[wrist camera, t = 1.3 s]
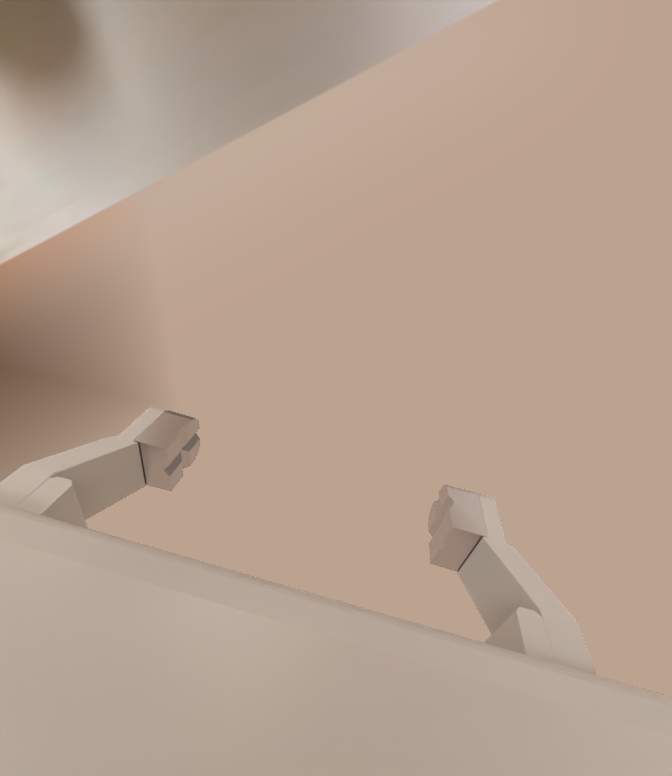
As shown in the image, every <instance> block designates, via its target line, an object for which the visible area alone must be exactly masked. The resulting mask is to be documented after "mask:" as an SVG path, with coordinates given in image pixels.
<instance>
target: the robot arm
mask: <svg viewBox="0 0 672 776" xmlns="http://www.w3.org/2000/svg"><path fill="white" fill-rule="evenodd" d="M198 429H199V421H198V420H197V419H196V418H193V417H189V416H186V415H182V414H179V413H176V412H172V411H169V410H164V409H161V408H158V407H150V408H148V409H147V410H146V411H145V412H144V413H143V414H142V415H141V416H139V417H138V418H137V419H136V420H135V421H134V422H133V423H132V424H131V425H130V426H129V427H127V428H126V429H125V430H124V431H123V432H122V433H121V434H120V435H118V436H117V437H116V436H110V437H107V438H104V439H101V440H98V441H95V442H92V443H89V444H86V445H83V446H80V447H77V448H74V449H70V450H68V451H64V452H62V453H58V454H55V455H52V456H50V457H47V458H44V459H40V460H37V461H35V462H31V463H28V464H25V465H23V466H22V467H21V468H19V469H18V470H17V471H15V472H14V473H12V474H11V475H10V476H8V477H7V478H6V479H5V480H3V481H2V482H1V483H0V776H672V697H670V696H667V695H664V694H660V693H656V692H653V691H650V690H646V689H642V688H639V687H636V686H632V685H628V684H625V683H622V682H618V681H615V680H611V679H608V678H605V677H601V676H597V675H596V672H595V669H594V666H593V664H592V661H591V658H590V655H589V653H588V650H587V647H586V645H585V642H584V639H583V636H582V634H581V631H580V628H579V626H578V623H577V621H576V620H575V619H574V617H573V616H572V615H571V614H570V613H569V612H568V610H567V609H566V608H565V607H564V606H563V605H562V603H561V602H560V601H559V600H558V599H557V597H556V596H555V595H554V594H553V593H552V592H551V590H550V589H549V588H548V587H547V586H546V585H545V584H544V582H543V581H542V580H541V579H540V578H539V577H538V575H537V574H536V573H535V572H534V571H533V569H532V568H531V567H530V566H529V565H528V564H527V562H526V561H525V560H524V559H523V558H522V557H521V555H520V554H519V553H518V552H517V551H516V549H515V548H514V547H513V546H512V545H511V544H508V543H506V540H505V536H504V532H503V528H502V525H501V521H500V517H499V513H498V510H497V506H496V502H495V499H494V498H493V497H491V496H487V495H483V494H480V493H475V492H471V491H467V490H463V489H460V488H455V487H452V486H448V485H444V486H443V487H442V488H441V490H440V492H439V498H440V499H439V500H437V501H435V502H434V503H433V506H432V508H431V510H430V515H429V524H428V527H429V532H430V534H431V535H432V537H433V538H432V539H431V541H430V543H429V548H430V563H431V564H434V565H437V566H440V567H444V568H447V569H450V570H454V571H457V572H458V575H459V577H460V579H461V581H462V582H463V584H464V586H465V588H466V590H467V591H468V593H469V595H470V597H471V599H472V600H473V602H474V604H475V606H476V607H477V609H478V611H479V613H480V614H481V616H482V618H483V620H484V622H485V624H486V625H487V627H488V629H489V631H490V633H491V634H492V635H491V636H490V637H489V638H488V639H487V640H486V641H485V642H484V643H483V642H480V641H476V640H473V639H469V638H466V637H462V636H459V635H455V634H452V633H448V632H445V631H442V630H438V629H435V628H431V627H428V626H424V625H421V624H418V623H414V622H411V621H407V620H403V619H400V618H397V617H393V616H390V615H386V614H383V613H379V612H376V611H372V610H369V609H365V608H361V607H358V606H355V605H352V604H348V603H345V602H341V601H338V600H334V599H331V598H327V597H324V596H320V595H317V594H313V593H310V592H306V591H303V590H299V589H296V588H292V587H289V586H286V585H282V584H278V583H275V582H272V581H268V580H265V579H261V578H258V577H254V576H251V575H248V574H243V573H241V572H237V571H234V570H230V569H227V568H223V567H220V566H216V565H213V564H209V563H206V562H203V561H199V560H196V559H192V558H189V557H185V556H182V555H178V554H175V553H171V552H168V551H164V550H161V549H158V548H154V547H151V546H147V545H144V544H140V543H136V542H133V541H130V540H126V539H123V538H119V537H116V536H112V535H109V534H105V533H102V532H98V531H95V530H92V529H88V527H87V524H86V521H85V520H86V519H88V518H90V517H91V516H93V515H95V514H96V513H98V512H100V511H102V510H104V509H106V508H107V507H109V506H111V505H113V504H114V503H116V502H118V501H120V500H122V499H123V498H125V497H127V496H129V495H130V494H132V493H134V492H136V491H138V490H139V489H141V488H143V487H145V485H149V486H153V487H158V488H161V489H165V490H170V491H172V489H173V488H174V487H175V485H176V484H177V483H178V482H179V480H180V479H181V478H182V476H183V469H184V468H186V467H188V466H190V465H191V464H192V463H193V461H194V460H195V458H196V456H197V453H198V451H199V446H200V438H199V437H198V435H197V434H196V432H197V430H198Z"/></svg>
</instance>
